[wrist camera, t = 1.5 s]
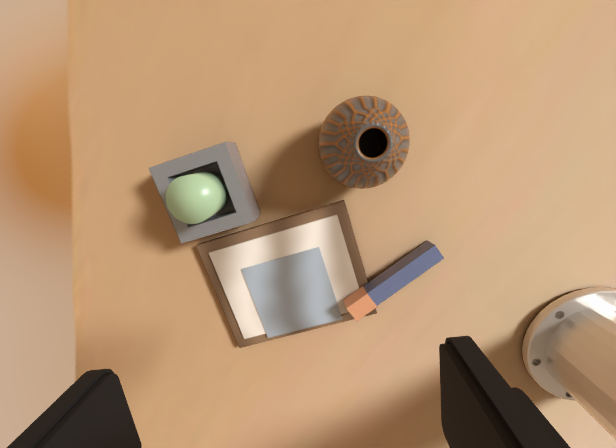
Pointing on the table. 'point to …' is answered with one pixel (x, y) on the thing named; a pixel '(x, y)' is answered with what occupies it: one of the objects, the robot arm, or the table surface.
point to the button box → (233, 173)
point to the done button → (196, 196)
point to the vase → (363, 142)
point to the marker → (392, 280)
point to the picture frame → (286, 274)
